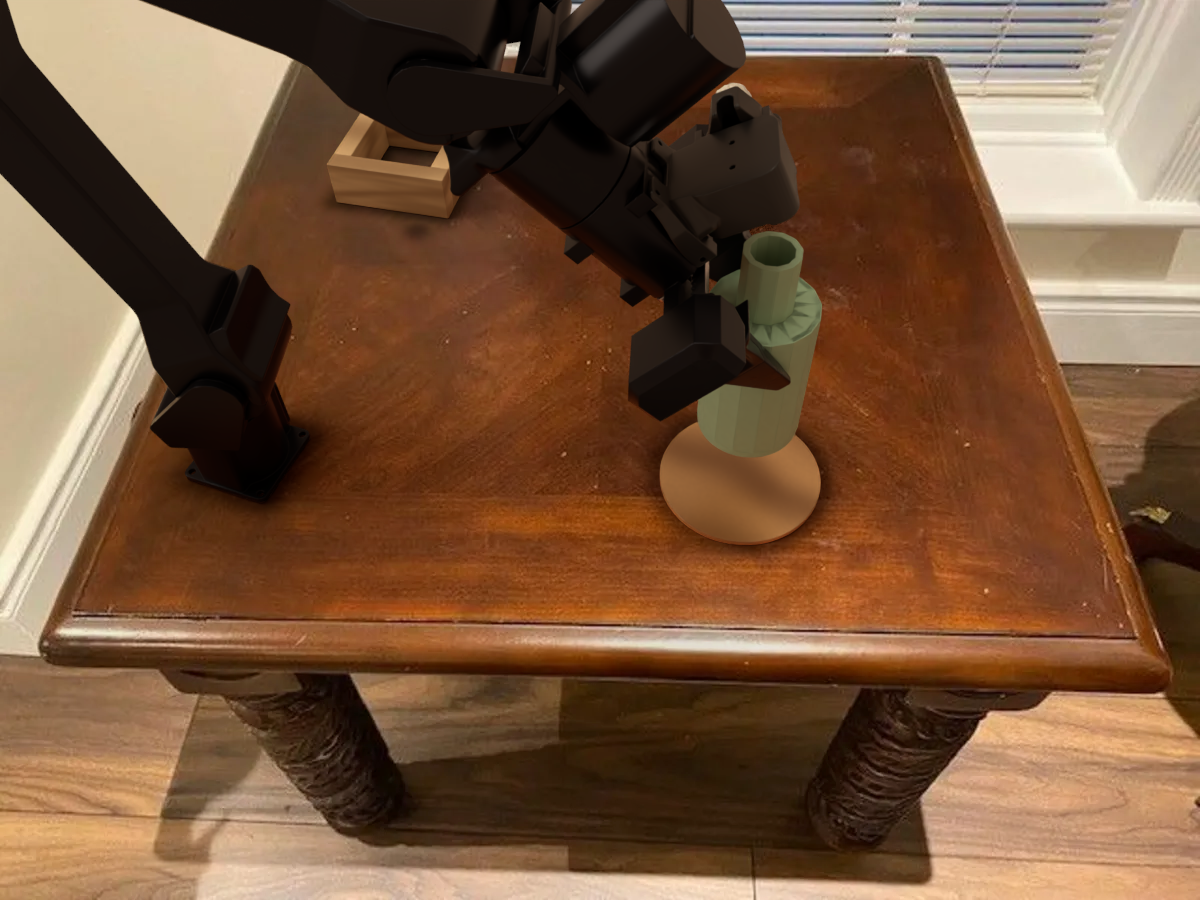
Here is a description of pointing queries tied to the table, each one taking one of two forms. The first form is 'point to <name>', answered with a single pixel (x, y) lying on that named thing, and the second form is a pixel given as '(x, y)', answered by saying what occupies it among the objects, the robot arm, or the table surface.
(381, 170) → the holder
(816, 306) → the bottle
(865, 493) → the table surface
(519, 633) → the table surface
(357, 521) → the table surface
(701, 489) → the mat
